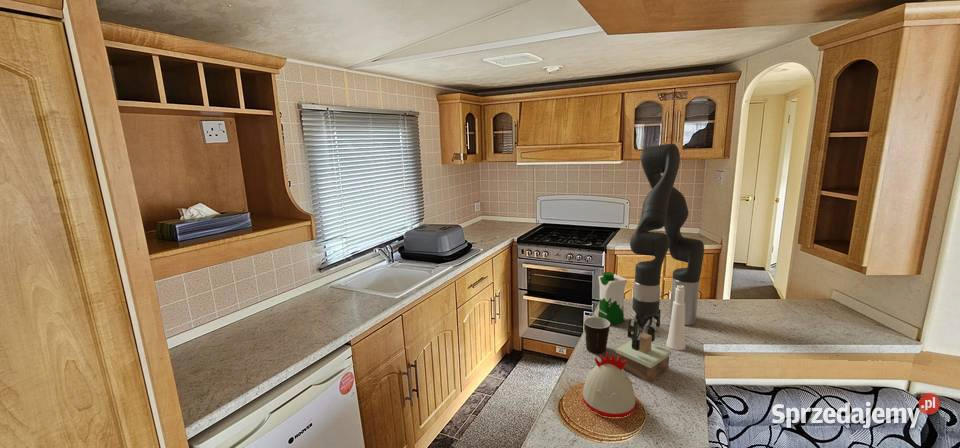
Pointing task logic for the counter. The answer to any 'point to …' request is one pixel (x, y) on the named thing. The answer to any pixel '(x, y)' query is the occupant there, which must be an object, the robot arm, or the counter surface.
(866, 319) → the counter surface
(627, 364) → the box
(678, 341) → the cosmetic bottle
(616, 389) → the cream dome
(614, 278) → the milk carton
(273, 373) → the counter surface
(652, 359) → the lid
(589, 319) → the coffee mug
